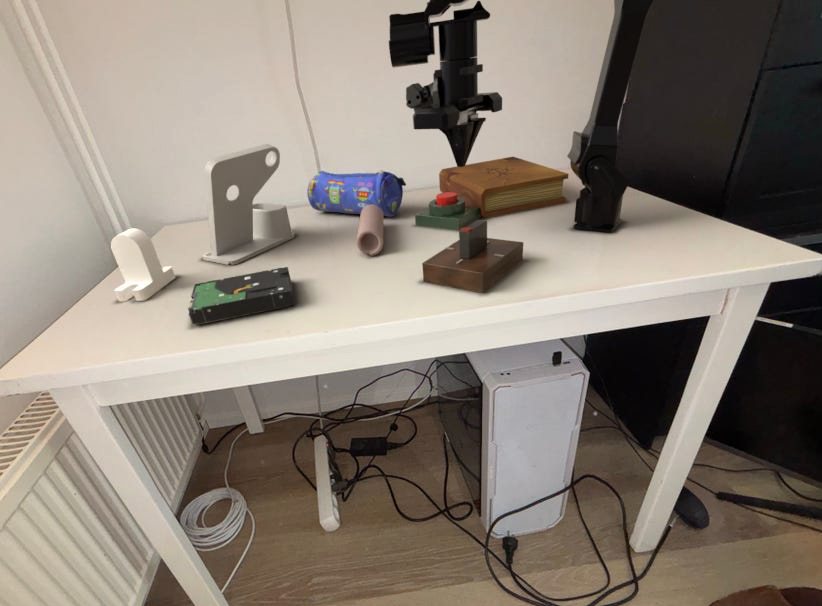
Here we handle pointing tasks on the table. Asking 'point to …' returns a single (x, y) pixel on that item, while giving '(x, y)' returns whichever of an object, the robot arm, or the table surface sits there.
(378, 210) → the beige hollow tube
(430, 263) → the panel
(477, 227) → the knob
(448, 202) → the button
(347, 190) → the pencil case
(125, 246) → the white stand
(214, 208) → the grey bracket stand
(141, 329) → the table surface
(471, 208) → the button box
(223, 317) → the disk drive
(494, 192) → the diary
